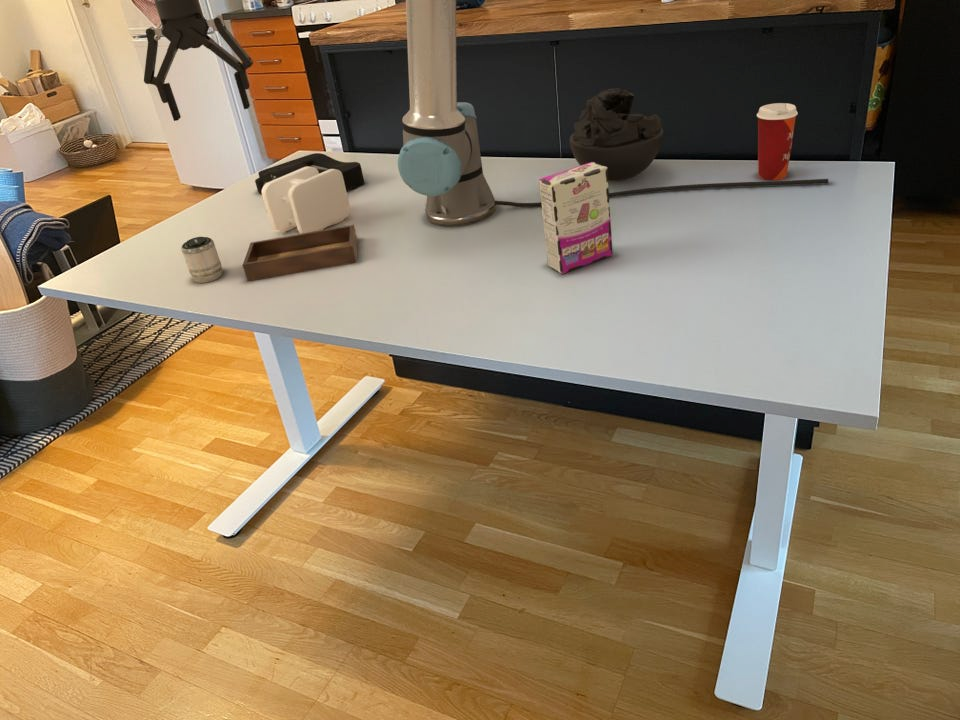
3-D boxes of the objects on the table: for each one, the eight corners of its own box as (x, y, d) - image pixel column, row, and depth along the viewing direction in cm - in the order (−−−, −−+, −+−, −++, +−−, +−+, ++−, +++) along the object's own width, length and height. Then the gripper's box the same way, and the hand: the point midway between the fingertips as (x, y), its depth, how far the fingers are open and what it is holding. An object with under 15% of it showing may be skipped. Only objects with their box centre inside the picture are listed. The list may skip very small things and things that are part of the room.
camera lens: (197, 286, 147) (183, 250, 143) (189, 277, 152) (176, 241, 148) (228, 276, 150) (215, 239, 145) (219, 267, 154) (207, 231, 150)
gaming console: (254, 192, 195) (246, 165, 191) (318, 169, 205) (311, 143, 202) (306, 210, 177) (299, 181, 173) (373, 184, 187) (367, 156, 184)
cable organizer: (302, 242, 160) (287, 190, 154) (272, 235, 166) (257, 184, 160) (353, 216, 169) (341, 166, 163) (323, 210, 175) (310, 162, 169)
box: (357, 240, 157) (353, 224, 155) (356, 262, 147) (352, 245, 145) (255, 257, 156) (250, 242, 154) (247, 281, 146) (242, 265, 144)
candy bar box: (597, 247, 137) (592, 160, 129) (613, 256, 133) (609, 166, 125) (545, 266, 134) (537, 177, 125) (560, 275, 130) (553, 184, 121)
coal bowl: (646, 158, 176) (644, 75, 166) (676, 184, 159) (677, 93, 149) (563, 173, 175) (557, 90, 165) (585, 201, 158) (579, 110, 148)
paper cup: (797, 179, 152) (804, 109, 145) (759, 184, 153) (763, 114, 146) (784, 167, 159) (790, 100, 152) (748, 172, 160) (751, 105, 152)
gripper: (246, -20, 138) (278, 98, 149) (111, 2, 137) (153, 119, 148) (240, -16, 131) (273, 106, 142) (98, 6, 130) (143, 128, 142)
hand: (212, 113), depth 145 cm, fingers open, 13 cm apart
